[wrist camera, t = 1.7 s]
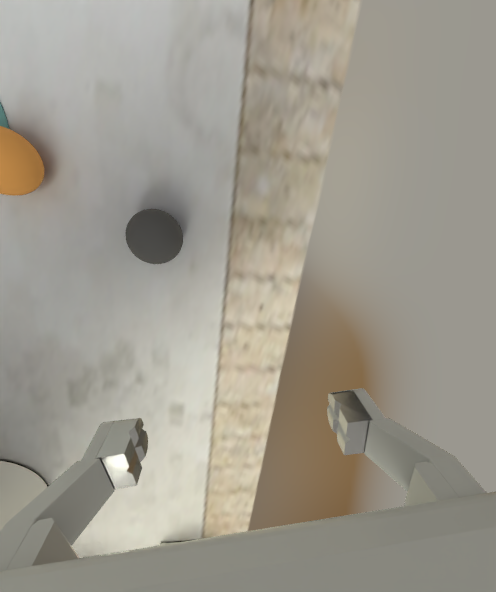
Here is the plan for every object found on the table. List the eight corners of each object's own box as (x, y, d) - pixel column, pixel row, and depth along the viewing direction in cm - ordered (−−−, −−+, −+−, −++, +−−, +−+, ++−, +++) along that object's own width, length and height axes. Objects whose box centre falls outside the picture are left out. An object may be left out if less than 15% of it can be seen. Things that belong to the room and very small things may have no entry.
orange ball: (49, 205, 26) (7, 208, 21) (-13, 176, 25) (-73, 171, 19) (64, 153, 25) (23, 142, 20) (0, 119, 23) (-63, 97, 18)
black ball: (174, 265, 30) (165, 279, 25) (128, 243, 29) (108, 253, 23) (193, 223, 29) (188, 229, 23) (146, 198, 27) (129, 198, 22)
